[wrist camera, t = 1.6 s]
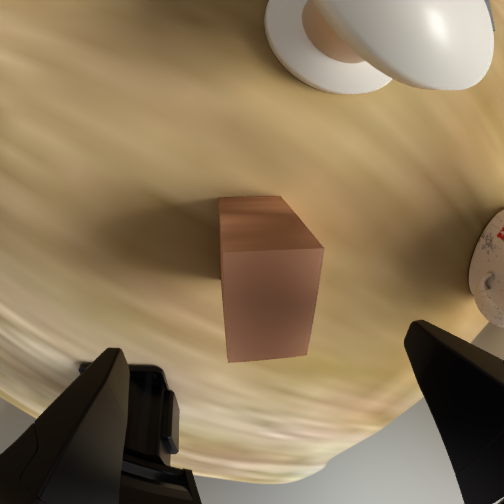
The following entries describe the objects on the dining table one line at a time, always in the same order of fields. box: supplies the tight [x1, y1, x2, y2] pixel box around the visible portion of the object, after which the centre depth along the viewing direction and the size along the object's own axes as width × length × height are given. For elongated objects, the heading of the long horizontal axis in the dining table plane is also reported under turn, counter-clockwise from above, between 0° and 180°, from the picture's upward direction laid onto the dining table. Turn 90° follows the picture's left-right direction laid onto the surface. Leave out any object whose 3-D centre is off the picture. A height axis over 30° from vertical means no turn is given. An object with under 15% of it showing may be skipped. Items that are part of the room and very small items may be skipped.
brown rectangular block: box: [218, 196, 324, 363], centre depth 12 cm, size 3×4×6 cm, turn 179°
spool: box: [264, 0, 494, 95], centre depth 7 cm, size 7×7×7 cm
